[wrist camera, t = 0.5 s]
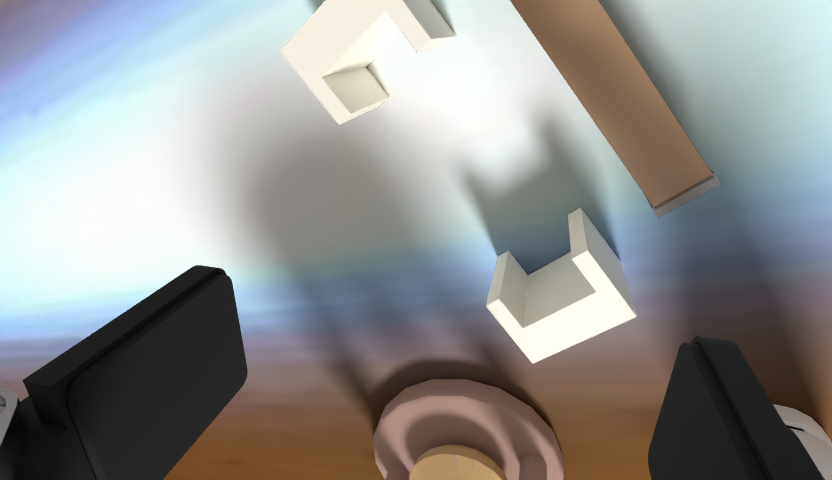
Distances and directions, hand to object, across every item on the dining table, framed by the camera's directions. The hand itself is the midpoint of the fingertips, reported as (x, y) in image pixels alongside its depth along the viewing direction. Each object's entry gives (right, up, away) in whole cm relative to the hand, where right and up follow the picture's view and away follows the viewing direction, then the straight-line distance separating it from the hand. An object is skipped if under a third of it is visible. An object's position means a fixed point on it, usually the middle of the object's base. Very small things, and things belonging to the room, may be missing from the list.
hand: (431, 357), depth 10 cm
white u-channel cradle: (+4, +8, +22) cm, 24 cm away
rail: (+11, +13, +18) cm, 25 cm away
